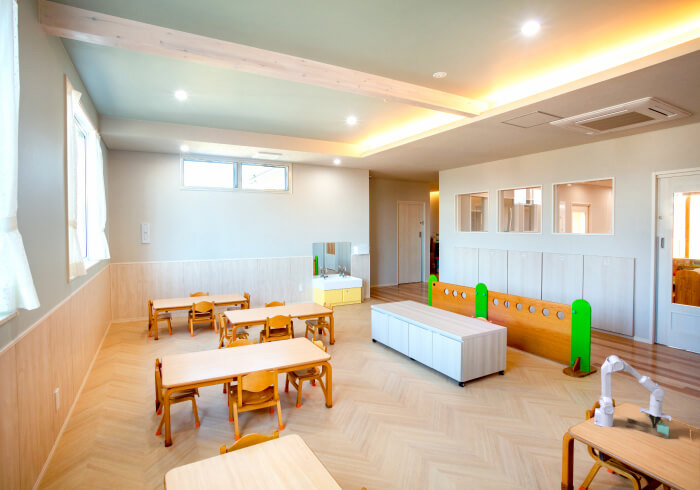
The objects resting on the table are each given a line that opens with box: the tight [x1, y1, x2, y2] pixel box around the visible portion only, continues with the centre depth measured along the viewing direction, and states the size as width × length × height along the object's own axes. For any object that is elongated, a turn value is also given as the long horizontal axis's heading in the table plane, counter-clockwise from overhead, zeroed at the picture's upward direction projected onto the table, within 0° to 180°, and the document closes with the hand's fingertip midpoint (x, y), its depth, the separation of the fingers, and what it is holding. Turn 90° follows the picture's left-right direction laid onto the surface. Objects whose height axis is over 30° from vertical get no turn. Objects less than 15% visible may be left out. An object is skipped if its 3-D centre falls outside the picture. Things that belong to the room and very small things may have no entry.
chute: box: [625, 417, 667, 440], centre depth 219 cm, size 19×7×4 cm, turn 48°
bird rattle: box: [643, 407, 662, 423], centre depth 231 cm, size 6×11×9 cm
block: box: [656, 422, 670, 439], centre depth 214 cm, size 5×5×6 cm
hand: (654, 427), depth 216 cm, fingers closed
